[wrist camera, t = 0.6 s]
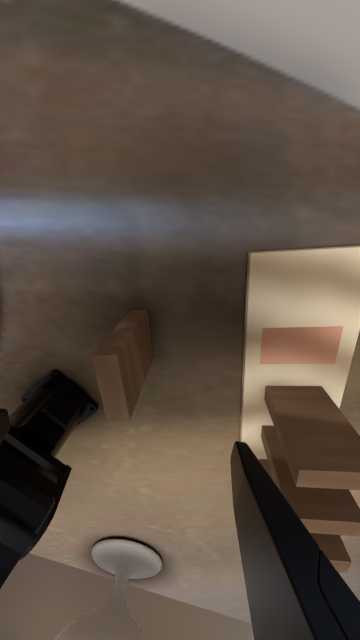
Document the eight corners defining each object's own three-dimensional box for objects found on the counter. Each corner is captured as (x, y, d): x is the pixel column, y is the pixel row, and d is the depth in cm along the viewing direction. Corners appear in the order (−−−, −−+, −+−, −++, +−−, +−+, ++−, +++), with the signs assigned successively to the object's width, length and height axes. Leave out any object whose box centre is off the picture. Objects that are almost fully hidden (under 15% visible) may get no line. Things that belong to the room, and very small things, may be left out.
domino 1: (147, 309, 20) (116, 355, 13) (153, 356, 22) (129, 420, 15) (130, 309, 21) (90, 355, 13) (137, 356, 22) (106, 419, 15)
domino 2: (318, 399, 21) (381, 491, 14) (264, 399, 22) (296, 486, 14) (321, 386, 21) (388, 473, 13) (265, 385, 21) (299, 469, 14)
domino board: (308, 506, 29) (311, 516, 28) (236, 502, 30) (237, 511, 29) (371, 244, 17) (381, 245, 16) (247, 251, 18) (250, 253, 17)
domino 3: (310, 437, 23) (361, 536, 16) (260, 436, 24) (287, 531, 16) (313, 426, 22) (367, 523, 15) (261, 425, 23) (290, 518, 16)
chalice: (70, 545, 38) (-5, 725, 24) (129, 523, 34) (80, 725, 20) (125, 582, 42) (87, 759, 28) (185, 567, 37) (175, 765, 24)
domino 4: (304, 470, 25) (347, 572, 18) (257, 468, 25) (280, 566, 18) (306, 460, 24) (351, 561, 17) (258, 458, 25) (282, 556, 18)
